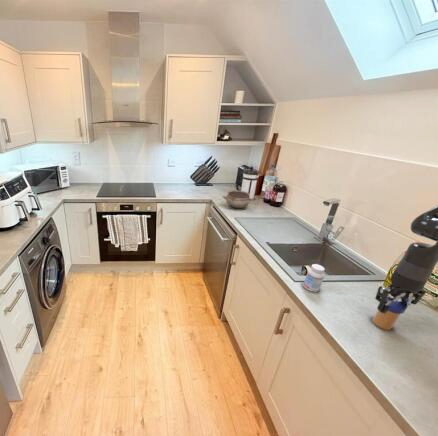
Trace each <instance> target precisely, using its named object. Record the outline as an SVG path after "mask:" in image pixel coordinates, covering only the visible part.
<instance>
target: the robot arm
mask: <svg viewBox="0 0 438 436" xmlns="http://www.w3.org/2000/svg"><path fill="white" fill-rule="evenodd" d="M410 230H411V231H410V232H412V233H413V234H415V235H416V236H420V237H423V238H426V239H428V240H431V241H434V242H435V243H434V244H431V243H425V242H418V241H417V242H412V243H410V244H409V245H408V247H407V249H406V251H405V253H404V254H403V256H402V258H401V259H400V260H399V261H398V263H397V265H396V266H395V268H394V270H393V273H392V274H391V276H390V281H391V283H390V285H388V286H387V287H384V286H383V285H380V286H379V287H378V289H377V291H376V295H375V298H374V299H375V300H376V301H377V302H379V304H378V305H377V307H376V308H377V311H378V310H379V311H380V312H381V313H385V312H386V310H387V308H388V306H389V304H391V303H392V302H396V301H399V302H401V303H402V304H403V305H404V306H405V307H406V309H405V311H406V310H407V308H408V307H410V306H411V305H417V304H418V303H419V302H420V300H421V299H422V298H423V297H424V295H425V294H426V293H427V292H426V291H427V290H424V287H425V285H426V283H427V282H428V280H429V279H430V278H431V276H432V274H433V271H434V269H435V267H436V265H437V264H438V205H436V206H434V207H432V208H431V209H428V210H427V211H425V212H423V213H421V214H419V215H418V216H416V217H415V218H414V219H413V220H412V222H411V223H410ZM387 298H388V299H389V300H388V301H386V299H387ZM405 311H404V312H403V313H402V314H404V313H405Z"/></svg>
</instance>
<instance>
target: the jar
mask: <svg viewBox="0 0 438 436" xmlns="http://www.w3.org/2000/svg"><path fill="white" fill-rule="evenodd" d="M400 316H401V314H398V313H394V312H391V311H389V310H386V312H385V313H381V312H380V311H379V310H378V309H377V311H376V313H375V315H374V316H373V318H372V322H373V324H374V325H375V326H377V327H379V328H381V329H382V330H386V331H390V330H392V328H393V327H394V325H395V324H396V322H397V320H398V319H399V318H400Z"/></svg>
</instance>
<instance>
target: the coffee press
mask: <svg viewBox="0 0 438 436" xmlns="http://www.w3.org/2000/svg"><path fill="white" fill-rule="evenodd" d="M259 174H260V173H259V171H258V170H257V169H254V166H250V168H246V169H244V171H243V172H242V174H240V175H238V177H237V179H236V184H235V190H238V191H245V192H248V193H249V194H250V196H249V197H250V198H254V200H256V198H255V194H256V189H257V183H258V179H259V177H260V176H259ZM241 178H242V179H241ZM240 179H241V185H240ZM239 185H240V189H239ZM254 200H253V201H254Z"/></svg>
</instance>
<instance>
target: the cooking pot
mask: <svg viewBox="0 0 438 436" xmlns="http://www.w3.org/2000/svg"><path fill="white" fill-rule="evenodd" d="M249 196H250V194H249V193H248V192H245V191H238V190H237V189H234V190H228V191H227V195H226V196H224V195H222V198H223V199H224V200H225V201H226V203H227V205H229V207H231V208H233V209H237V210H239V209H243V208H245V207H248V205H250V202H253V201H254V199H255V197H254V198H250V197H249Z"/></svg>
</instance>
